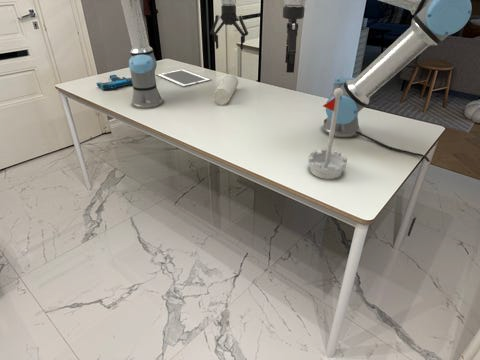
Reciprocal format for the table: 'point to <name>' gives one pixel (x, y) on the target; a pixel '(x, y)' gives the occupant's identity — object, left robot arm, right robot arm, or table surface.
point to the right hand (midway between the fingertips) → (289, 67)
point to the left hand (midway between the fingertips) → (229, 48)
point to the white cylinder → (225, 89)
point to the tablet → (183, 77)
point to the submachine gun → (115, 82)
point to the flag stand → (329, 148)
